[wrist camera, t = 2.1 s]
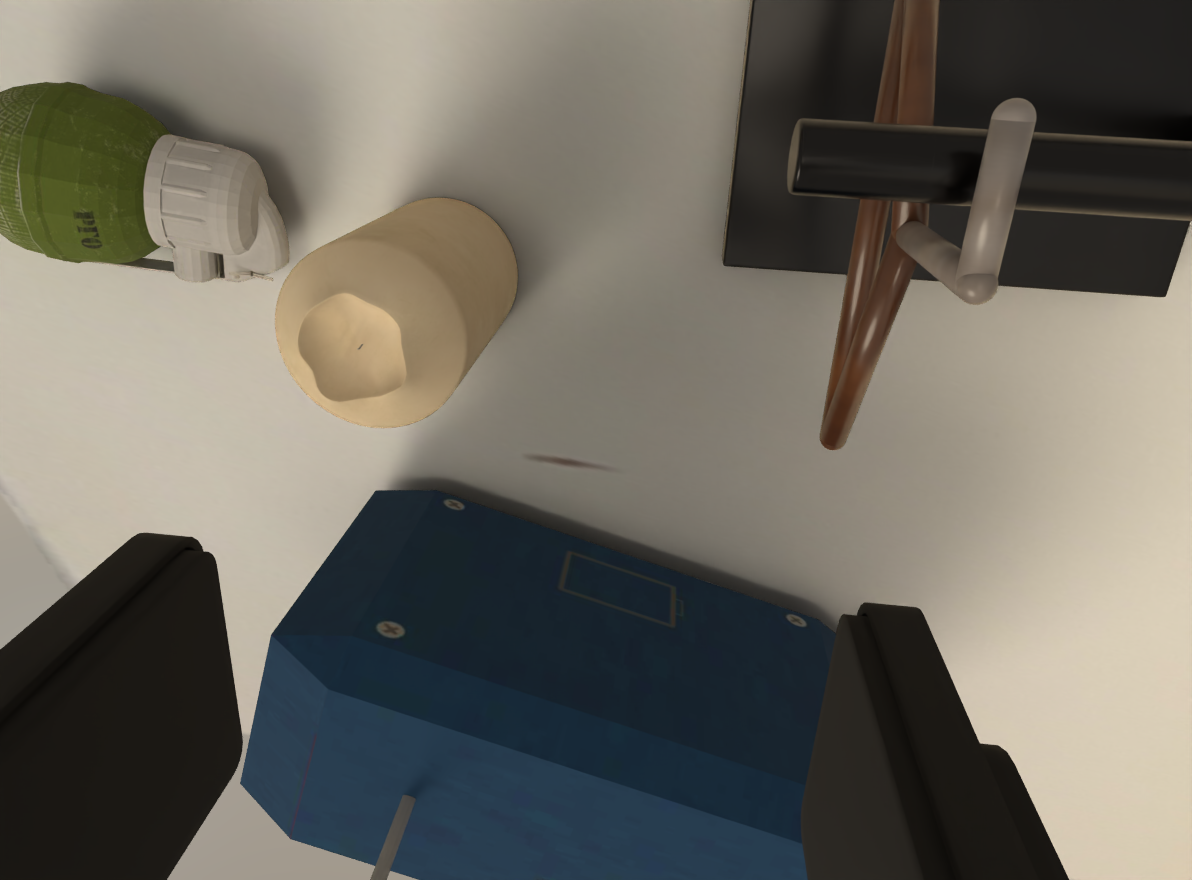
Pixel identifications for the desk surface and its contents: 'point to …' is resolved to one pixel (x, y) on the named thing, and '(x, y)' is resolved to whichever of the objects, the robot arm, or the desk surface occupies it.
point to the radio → (533, 708)
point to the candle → (396, 311)
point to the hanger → (919, 219)
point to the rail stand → (971, 136)
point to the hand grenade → (130, 189)
